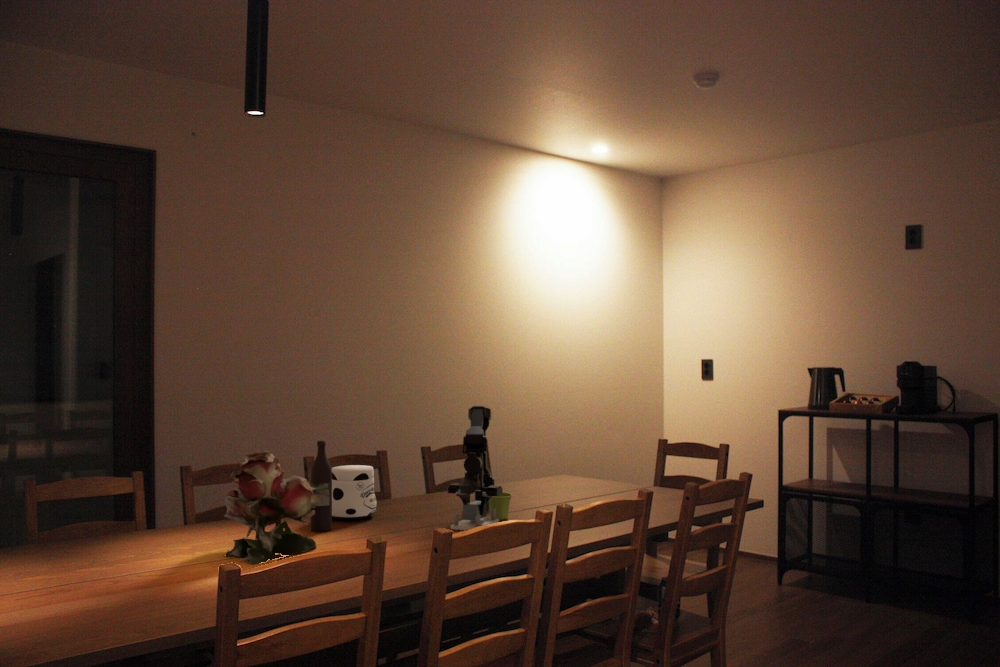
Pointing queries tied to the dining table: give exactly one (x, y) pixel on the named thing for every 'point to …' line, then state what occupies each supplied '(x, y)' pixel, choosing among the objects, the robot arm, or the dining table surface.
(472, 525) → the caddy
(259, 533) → the rose bouquet
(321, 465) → the wine bottle
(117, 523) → the dining table surface
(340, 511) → the milk container
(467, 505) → the grey rectangular block
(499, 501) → the plant pot
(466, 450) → the robot arm
